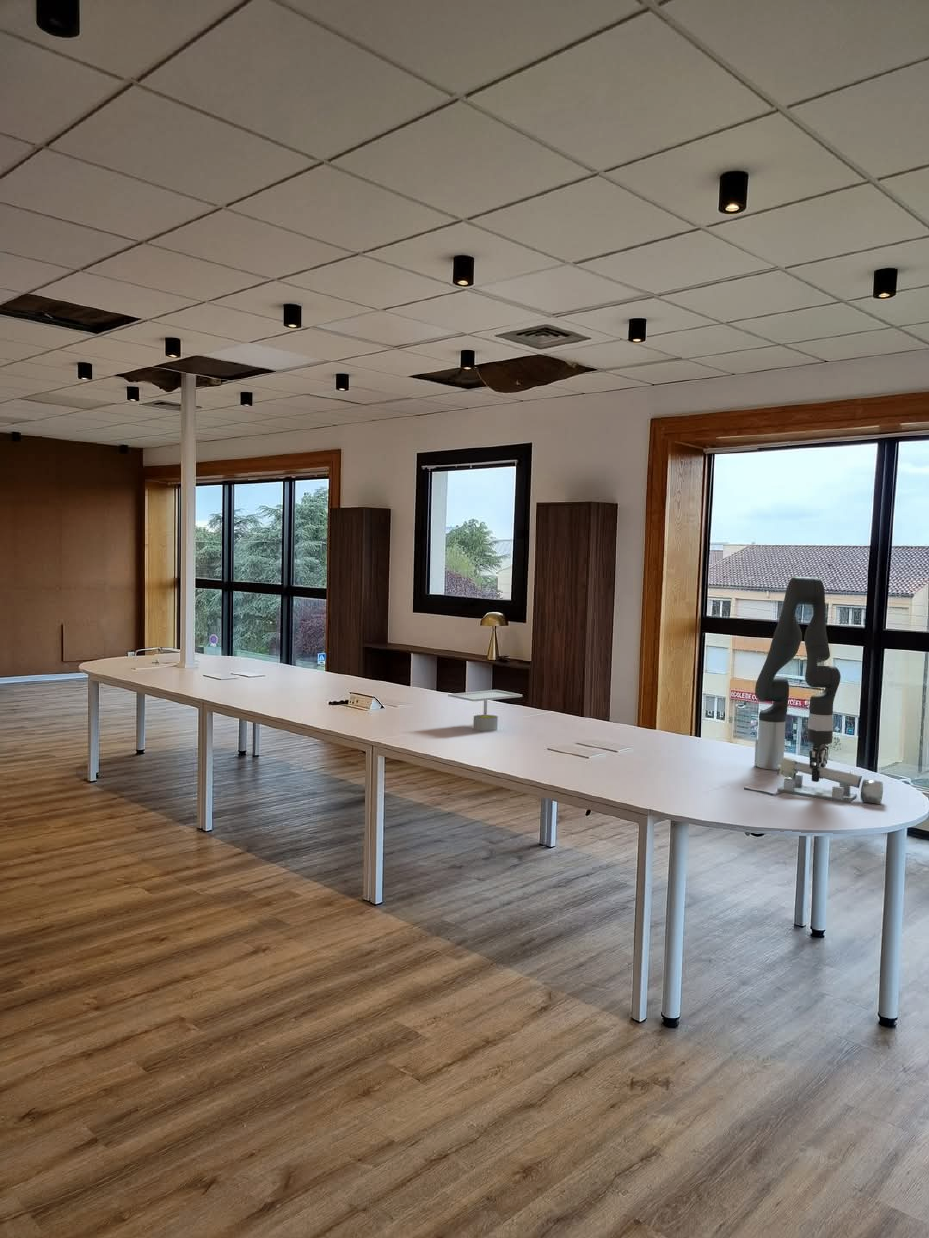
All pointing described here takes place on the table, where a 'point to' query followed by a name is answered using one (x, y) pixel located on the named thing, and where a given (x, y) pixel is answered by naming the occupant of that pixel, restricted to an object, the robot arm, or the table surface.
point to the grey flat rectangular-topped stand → (485, 707)
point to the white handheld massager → (792, 767)
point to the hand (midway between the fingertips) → (817, 779)
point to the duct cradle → (835, 791)
